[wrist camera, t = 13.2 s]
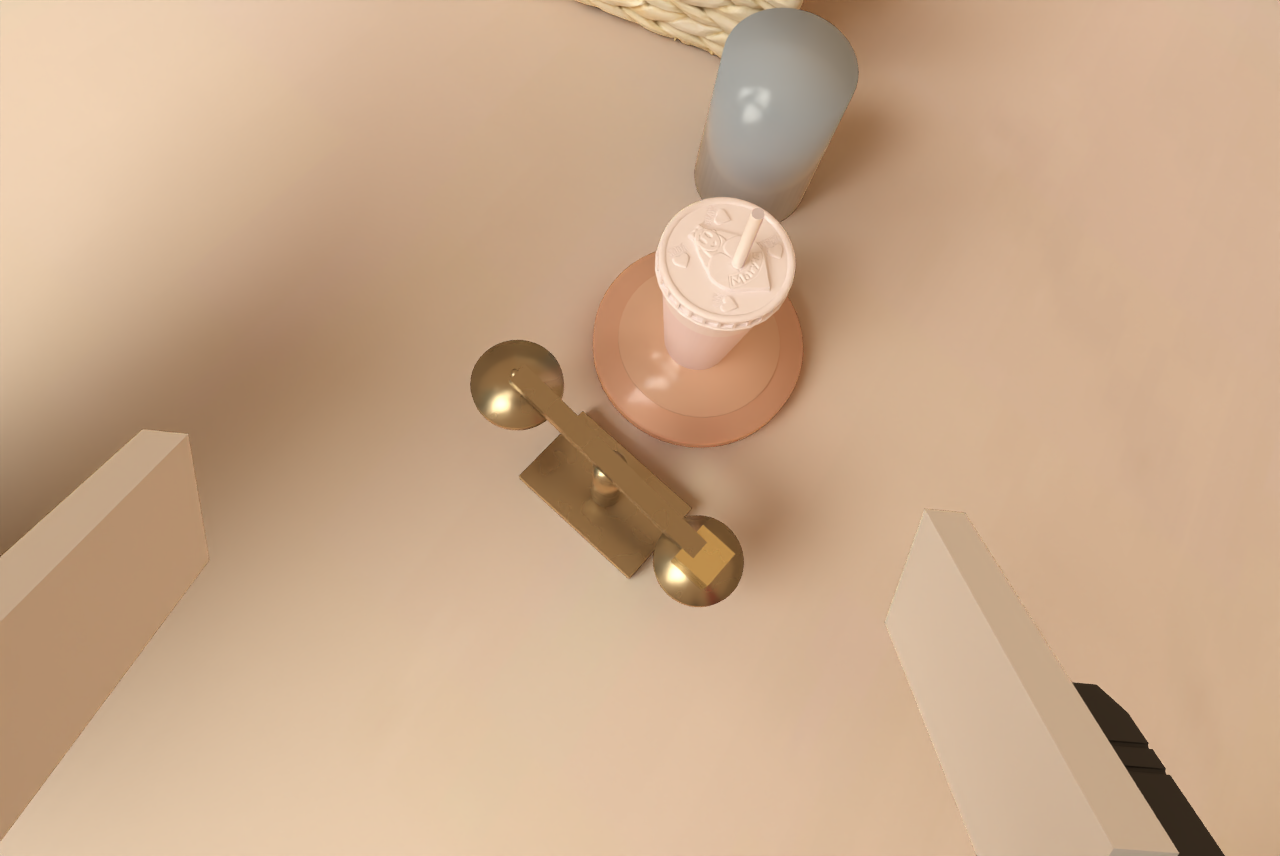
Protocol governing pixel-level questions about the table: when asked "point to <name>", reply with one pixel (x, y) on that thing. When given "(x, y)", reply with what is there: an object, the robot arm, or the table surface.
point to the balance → (604, 482)
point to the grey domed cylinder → (774, 108)
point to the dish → (683, 397)
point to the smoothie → (720, 277)
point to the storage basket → (690, 17)
